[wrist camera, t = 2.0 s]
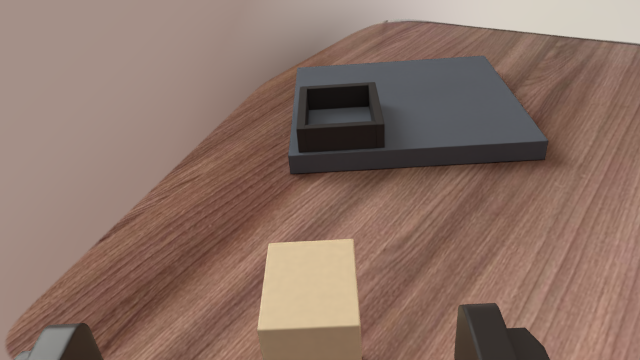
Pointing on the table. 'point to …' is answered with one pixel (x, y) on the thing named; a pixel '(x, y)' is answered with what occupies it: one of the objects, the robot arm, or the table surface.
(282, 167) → the table surface
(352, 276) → the tan rectangular block
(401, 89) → the dark gray square slab
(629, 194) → the table surface
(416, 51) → the table surface
